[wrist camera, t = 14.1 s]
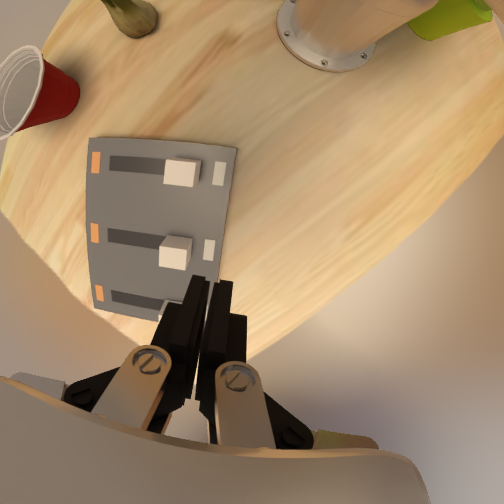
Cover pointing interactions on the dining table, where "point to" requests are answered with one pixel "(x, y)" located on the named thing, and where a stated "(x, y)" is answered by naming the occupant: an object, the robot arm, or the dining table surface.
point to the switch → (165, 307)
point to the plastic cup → (33, 91)
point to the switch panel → (151, 221)
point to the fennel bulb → (132, 16)
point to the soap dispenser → (450, 18)
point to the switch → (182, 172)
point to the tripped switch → (175, 252)
